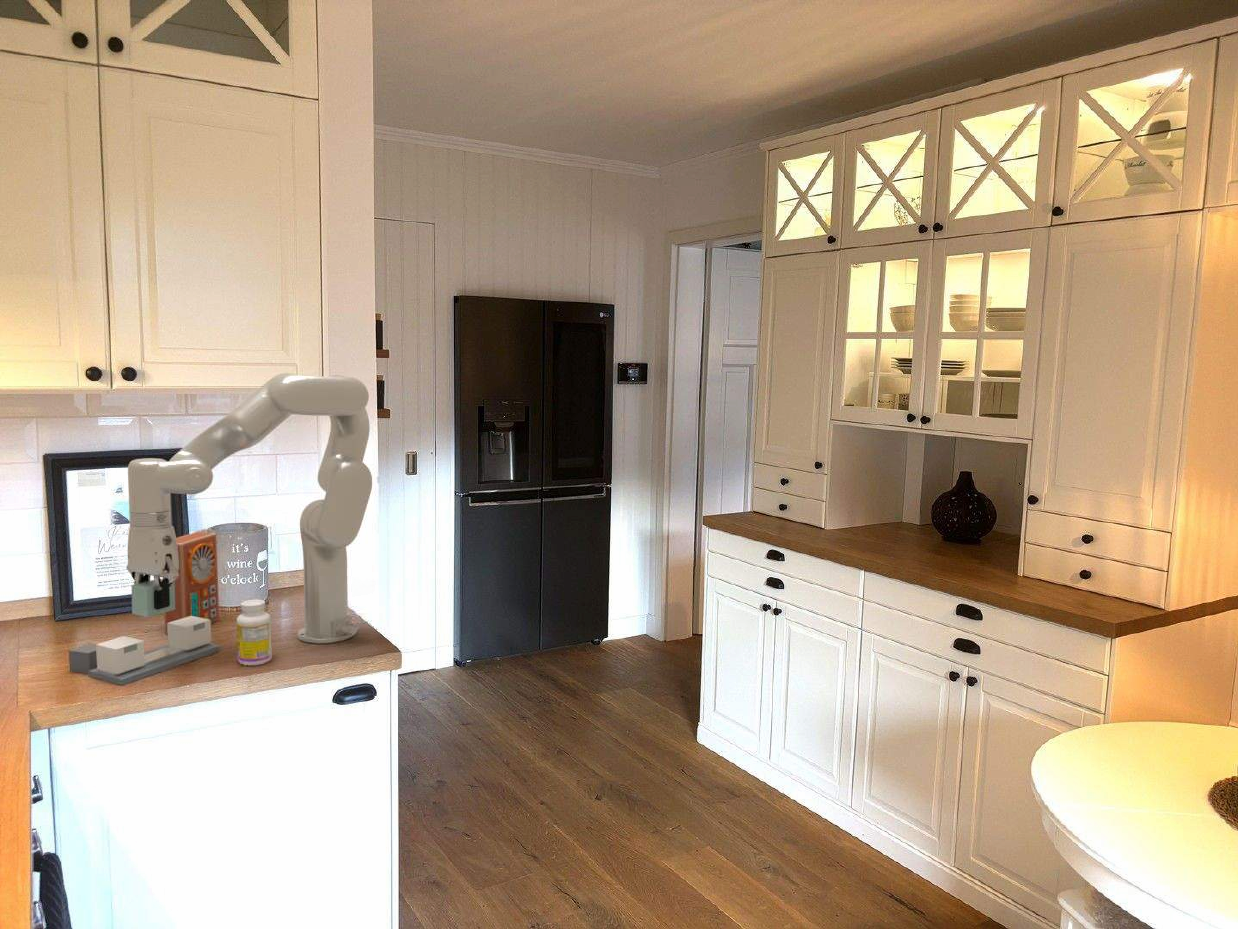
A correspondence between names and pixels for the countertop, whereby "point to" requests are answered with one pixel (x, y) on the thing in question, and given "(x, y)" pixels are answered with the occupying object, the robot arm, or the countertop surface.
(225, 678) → the countertop surface
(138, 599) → the module
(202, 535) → the control panel
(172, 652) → the rail
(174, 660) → the board
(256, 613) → the supplement bottle
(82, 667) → the block
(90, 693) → the countertop surface
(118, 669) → the mounted modules
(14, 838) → the countertop surface
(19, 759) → the countertop surface
